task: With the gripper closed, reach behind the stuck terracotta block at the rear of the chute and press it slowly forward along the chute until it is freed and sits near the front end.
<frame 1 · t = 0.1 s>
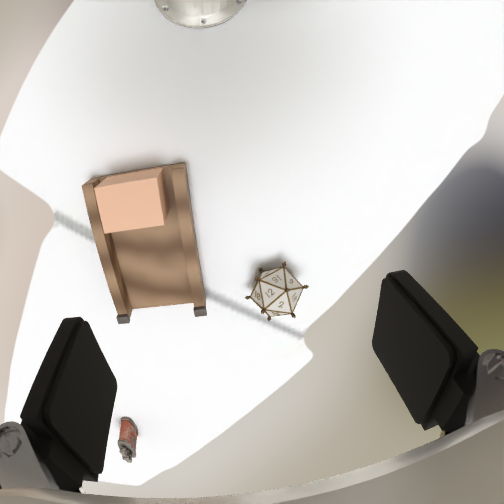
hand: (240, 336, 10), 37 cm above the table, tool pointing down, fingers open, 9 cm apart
game die: (271, 278, 52), on the table
block: (133, 199, 39), point 4 cm above the table, slide at 0.0 cm
lighter: (129, 424, 66), on the table
chute: (149, 241, 47), on the table
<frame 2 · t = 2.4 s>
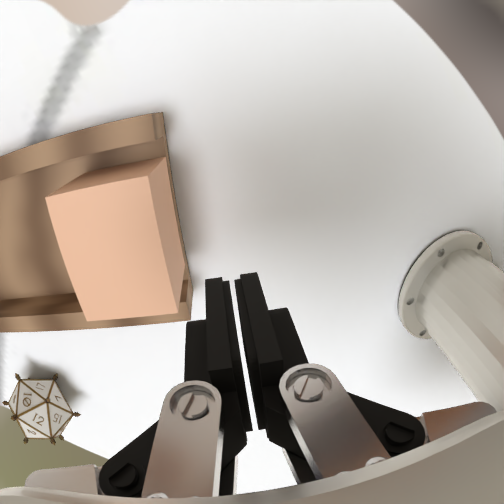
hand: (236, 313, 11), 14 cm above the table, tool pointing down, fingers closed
game die: (50, 383, 30), on the table
block: (123, 236, 19), point 4 cm above the table, slide at 0.0 cm
chute: (49, 230, 22), on the table
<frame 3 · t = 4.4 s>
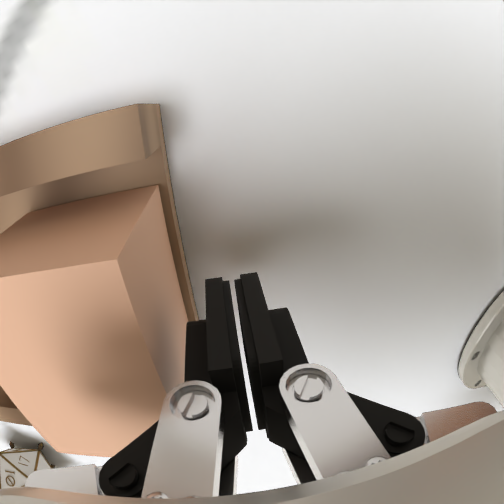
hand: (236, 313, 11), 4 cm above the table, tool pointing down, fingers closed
game die: (35, 448, 21), on the table
block: (93, 330, 10), point 4 cm above the table, slide at 0.3 cm, touching gripper
chute: (0, 289, 13), on the table
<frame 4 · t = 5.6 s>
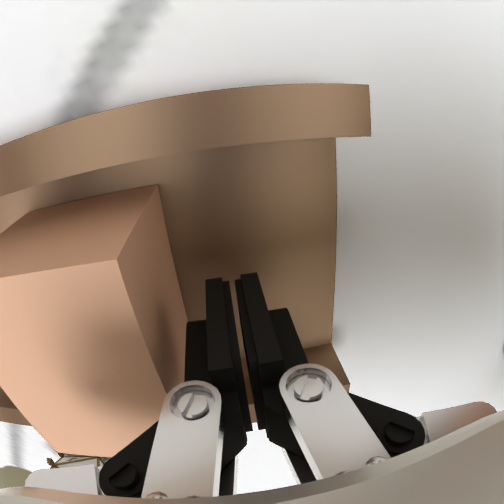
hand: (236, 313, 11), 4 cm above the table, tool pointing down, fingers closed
game die: (89, 455, 22), on the table
block: (93, 330, 10), point 4 cm above the table, slide at 6.9 cm, touching gripper
chute: (96, 276, 14), on the table
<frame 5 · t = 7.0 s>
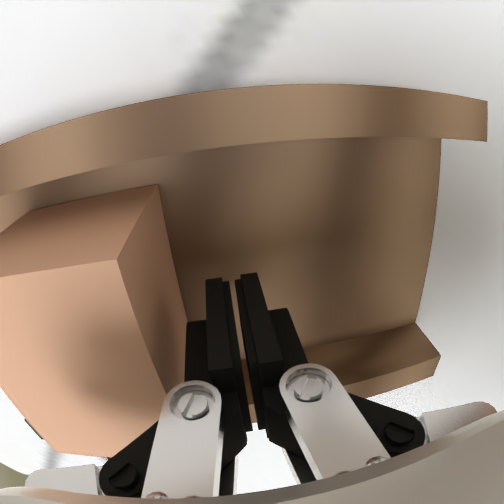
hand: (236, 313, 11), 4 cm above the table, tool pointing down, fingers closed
block: (92, 330, 10), point 4 cm above the table, slide at 12.3 cm, touching gripper
chute: (207, 260, 14), on the table
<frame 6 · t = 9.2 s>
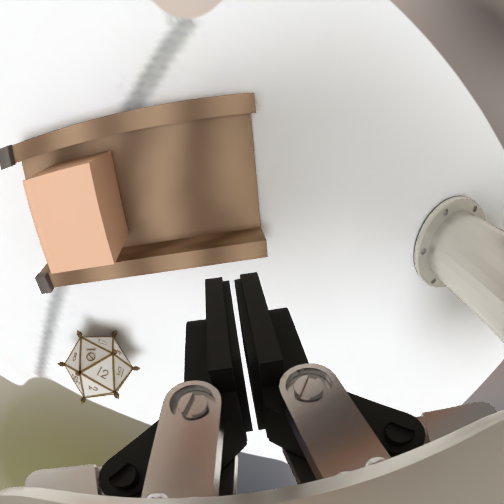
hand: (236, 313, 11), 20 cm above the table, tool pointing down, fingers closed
game die: (105, 343, 35), on the table
block: (79, 209, 24), point 4 cm above the table, slide at 12.3 cm
chute: (135, 186, 28), on the table
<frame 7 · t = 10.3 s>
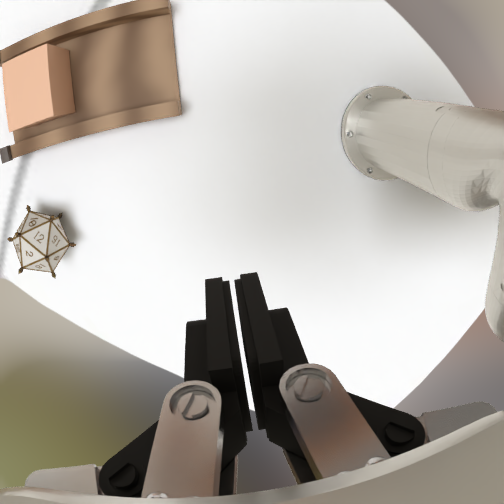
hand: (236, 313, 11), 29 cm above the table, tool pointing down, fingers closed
game die: (53, 229, 37), on the table
block: (38, 88, 25), point 4 cm above the table, slide at 12.3 cm
chute: (85, 78, 29), on the table
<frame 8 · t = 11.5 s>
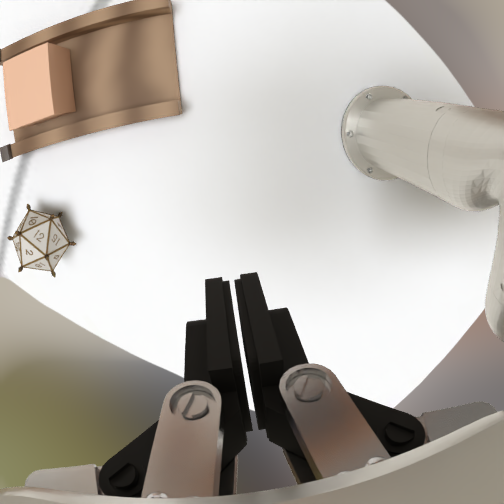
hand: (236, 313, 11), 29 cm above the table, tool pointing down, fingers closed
game die: (53, 228, 37), on the table
block: (39, 86, 25), point 4 cm above the table, slide at 12.3 cm
chute: (85, 77, 29), on the table
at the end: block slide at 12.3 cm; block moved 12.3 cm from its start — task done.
